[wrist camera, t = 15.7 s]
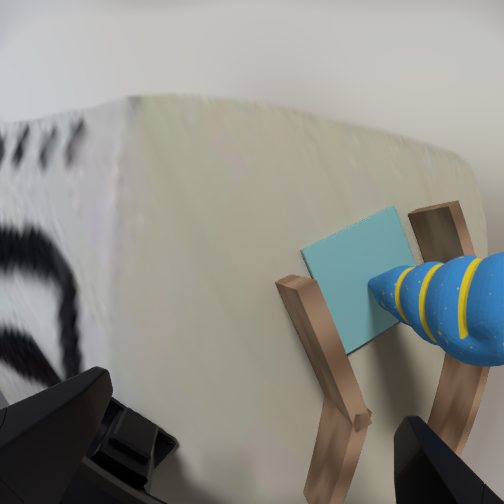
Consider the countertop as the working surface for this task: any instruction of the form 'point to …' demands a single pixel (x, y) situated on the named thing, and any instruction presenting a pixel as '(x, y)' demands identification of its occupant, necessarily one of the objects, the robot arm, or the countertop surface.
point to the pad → (358, 273)
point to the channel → (343, 379)
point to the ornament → (450, 305)
